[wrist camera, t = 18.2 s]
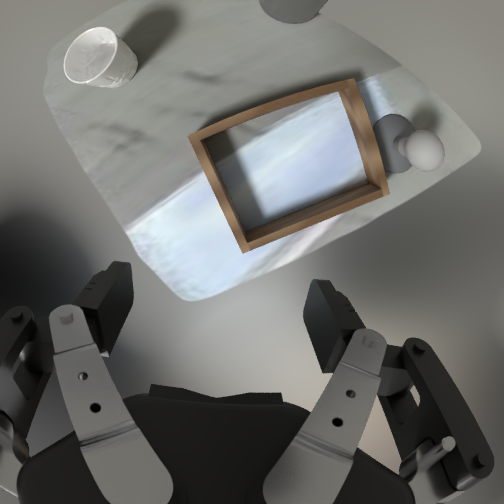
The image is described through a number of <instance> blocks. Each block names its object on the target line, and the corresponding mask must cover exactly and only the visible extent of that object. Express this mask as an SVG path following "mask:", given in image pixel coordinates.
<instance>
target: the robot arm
mask: <svg viewBox="0 0 504 504" xmlns="http://www.w3.org/2000/svg"><path fill="white" fill-rule="evenodd" d="M327 1H328V0H260V4H261V6H262V8H263V10H264V11H265V12H266V13H267V14H268V15H270V16H271V17H273V18H274V19H276V20H279V21H282V22H285V23H293V24H297V23H303V22H307V21H309V20H311V19H312V18H313V17H314V16H315V15H316V14H317V13H318V12H319V10H320V9H321V8H322V7H323V6H324V4H325V3H326V2H327ZM133 299H134V291H133V282H132V269H131V264H130V263H128V262H120V261H114V262H112V263H111V265H110V266H109V267H108V269H107V270H106V271H101V272H99V273H97V274H96V275H94V276H93V277H92V279H91V280H90V281H89V284H87V285H86V286H85V288H84V289H83V290H82V291H81V293H80V294H79V295H78V296H77V298H76V299H75V301H74V302H73V303H72V304H71V305H63V306H60V307H58V308H56V309H55V310H54V311H53V312H52V313H51V314H50V316H49V318H34V317H33V314H32V311H31V309H30V308H28V307H26V306H17V307H14V308H12V309H10V310H9V311H8V312H7V313H6V314H5V315H4V316H3V317H2V319H1V320H0V490H4V491H6V490H7V491H9V492H10V493H12V494H14V495H16V496H17V497H18V499H19V503H20V504H444V503H446V502H448V501H449V500H451V499H453V498H455V497H456V496H458V495H460V494H461V493H463V492H465V491H466V490H468V489H469V488H471V487H473V486H474V485H475V484H477V483H479V482H480V481H482V480H483V479H484V478H486V477H487V476H489V474H490V473H491V472H492V470H493V467H494V456H493V453H492V451H491V449H490V447H489V445H488V443H487V441H486V439H485V437H484V435H483V433H482V431H481V429H480V427H479V425H478V423H477V421H476V420H475V418H474V416H473V414H472V412H471V411H470V409H469V407H468V405H467V403H466V402H465V400H464V398H463V397H462V395H461V393H460V391H459V390H458V388H457V387H456V385H455V383H454V382H453V380H452V378H451V377H450V375H449V374H448V372H447V370H446V369H445V367H444V366H443V364H442V363H441V362H440V360H439V358H438V357H437V355H436V354H435V352H434V351H433V349H432V348H431V346H430V345H429V344H428V343H426V342H425V341H423V340H421V339H419V338H408V339H407V340H406V341H405V343H404V345H403V346H402V347H399V346H393V345H388V344H387V342H386V340H385V338H384V337H383V336H382V335H381V334H379V333H378V332H376V331H374V330H371V329H366V327H365V326H364V324H363V322H362V320H361V319H360V317H359V316H358V314H357V312H355V309H354V308H353V306H351V303H350V301H349V300H348V298H347V297H346V296H344V295H343V294H342V293H341V292H339V291H336V290H335V288H334V286H333V285H332V283H331V282H330V281H329V280H319V279H313V280H312V282H311V284H310V288H309V292H308V295H307V299H306V302H305V306H304V311H303V319H304V323H305V325H306V328H307V331H308V334H309V337H310V339H311V342H312V345H313V348H314V351H315V353H316V356H317V359H318V362H319V365H320V367H321V370H322V373H333V375H332V377H331V379H330V381H329V382H328V384H327V386H326V388H325V390H324V391H323V393H322V395H321V397H320V398H319V400H318V402H317V403H316V405H315V407H314V408H313V410H312V412H309V411H308V410H306V409H304V408H302V407H299V406H297V405H294V404H291V403H287V402H283V399H282V394H281V393H245V394H239V395H233V396H227V397H220V398H215V397H210V396H207V395H203V394H200V393H197V392H193V391H190V390H187V389H184V388H176V387H169V386H162V385H155V384H151V387H150V391H149V393H143V394H137V395H133V396H130V397H127V398H124V399H121V397H120V395H119V393H118V391H117V389H116V387H115V385H114V383H113V381H112V379H111V377H110V375H109V373H108V371H107V368H106V366H105V364H104V362H103V360H102V357H101V356H106V357H109V356H110V354H111V352H112V349H113V347H114V345H115V342H116V340H117V338H118V335H119V333H120V331H121V329H122V327H123V325H124V323H125V320H126V318H127V316H128V314H129V312H130V310H131V308H132V305H133ZM18 356H19V357H20V359H21V363H20V365H19V367H18V369H17V370H16V373H15V374H14V376H13V377H12V368H13V365H14V363H15V362H16V360H17V358H18ZM52 372H57V375H58V379H59V383H60V386H61V390H62V393H63V397H64V400H65V403H66V406H67V409H68V412H69V415H70V418H71V421H72V423H73V426H74V429H75V430H74V431H73V432H71V433H70V434H68V435H67V436H65V437H63V438H62V439H60V440H58V441H57V442H55V443H54V444H52V445H51V446H49V447H47V448H46V449H44V450H42V451H41V452H39V453H37V454H36V455H34V456H32V457H30V455H29V445H28V442H27V440H26V438H27V435H28V432H29V428H30V426H31V423H32V420H33V417H34V415H35V412H36V409H37V407H38V404H39V402H40V399H41V397H42V394H43V392H44V389H45V387H46V385H47V383H48V380H49V378H50V376H51V374H52ZM413 385H415V387H416V389H417V391H418V393H419V395H420V404H419V406H417V404H416V402H415V400H414V398H413V396H412V393H411V392H410V389H411V388H412V387H413ZM376 395H378V398H379V401H380V403H381V405H382V408H383V411H384V413H385V416H386V418H387V421H388V424H389V427H390V429H391V432H392V435H393V437H394V440H395V443H396V446H397V449H398V451H399V454H400V457H401V460H402V462H401V464H400V467H399V475H398V474H396V473H395V472H393V471H392V470H390V469H389V468H387V467H385V466H384V465H382V464H381V463H379V462H378V461H376V460H375V459H374V458H372V457H371V456H369V455H368V454H366V453H365V452H363V451H362V450H361V449H359V448H358V447H357V446H358V443H359V441H360V439H361V436H362V434H363V431H364V429H365V426H366V423H367V421H368V418H369V415H370V412H371V409H372V407H373V404H374V400H375V397H376Z"/></svg>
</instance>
